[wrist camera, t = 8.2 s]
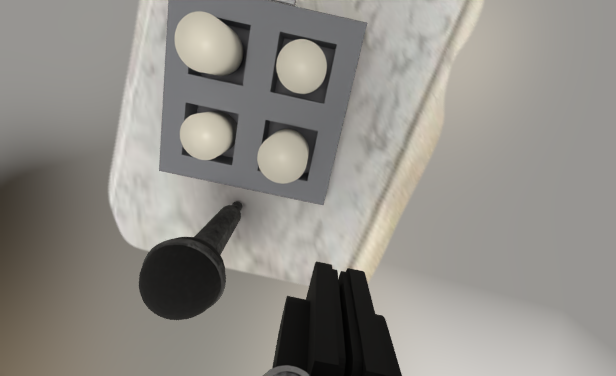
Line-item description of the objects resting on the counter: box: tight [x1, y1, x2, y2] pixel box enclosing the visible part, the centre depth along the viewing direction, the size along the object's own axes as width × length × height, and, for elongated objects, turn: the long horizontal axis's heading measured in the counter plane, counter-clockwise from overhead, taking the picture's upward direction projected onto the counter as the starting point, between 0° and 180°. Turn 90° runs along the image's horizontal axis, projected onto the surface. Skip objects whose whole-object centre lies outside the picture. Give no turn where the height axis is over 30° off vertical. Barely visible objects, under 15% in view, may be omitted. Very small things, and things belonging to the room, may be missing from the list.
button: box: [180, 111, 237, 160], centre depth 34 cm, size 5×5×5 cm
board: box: [159, 0, 367, 205], centre depth 34 cm, size 20×20×4 cm
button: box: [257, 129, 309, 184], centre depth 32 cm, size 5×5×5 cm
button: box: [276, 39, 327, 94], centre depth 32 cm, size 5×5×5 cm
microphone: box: [139, 202, 242, 320], centre depth 31 cm, size 7×7×20 cm
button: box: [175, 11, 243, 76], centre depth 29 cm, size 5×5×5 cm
